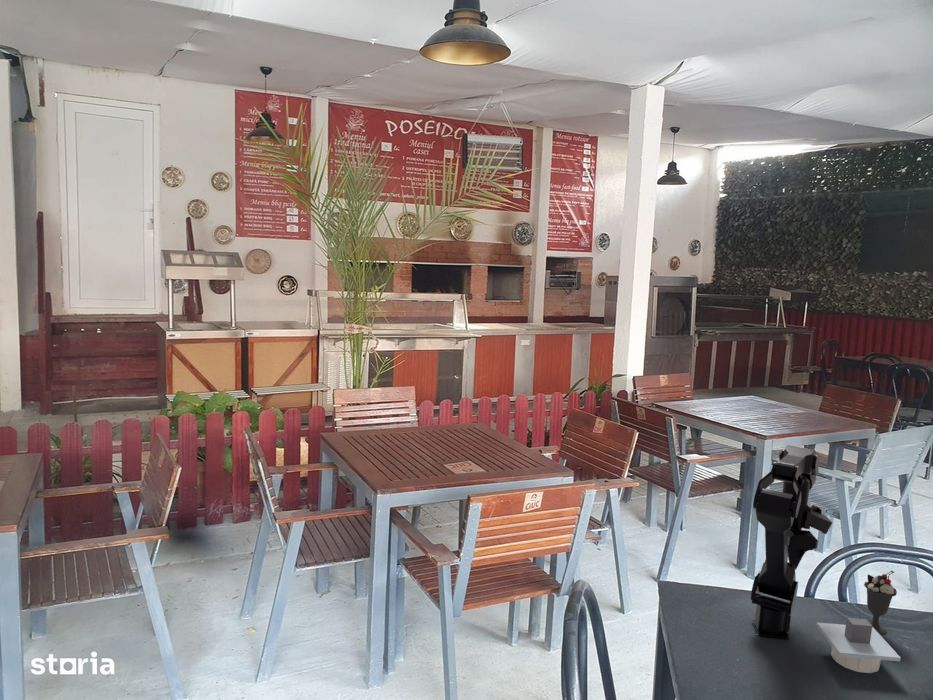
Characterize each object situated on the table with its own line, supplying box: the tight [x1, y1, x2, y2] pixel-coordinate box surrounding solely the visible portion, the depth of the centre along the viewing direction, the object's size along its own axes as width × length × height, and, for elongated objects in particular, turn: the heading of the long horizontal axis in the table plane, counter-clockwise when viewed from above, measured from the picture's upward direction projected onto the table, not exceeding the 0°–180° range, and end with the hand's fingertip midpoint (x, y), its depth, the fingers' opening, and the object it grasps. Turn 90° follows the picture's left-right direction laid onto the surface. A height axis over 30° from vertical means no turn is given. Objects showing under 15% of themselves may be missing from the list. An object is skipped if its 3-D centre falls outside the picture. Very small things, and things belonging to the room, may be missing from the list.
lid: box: [815, 617, 902, 662], centre depth 155 cm, size 12×12×5 cm
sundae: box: [863, 570, 898, 636], centre depth 168 cm, size 7×7×15 cm
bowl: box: [830, 646, 882, 674], centre depth 156 cm, size 9×9×4 cm
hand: (787, 561), depth 176 cm, fingers open, 9 cm apart
